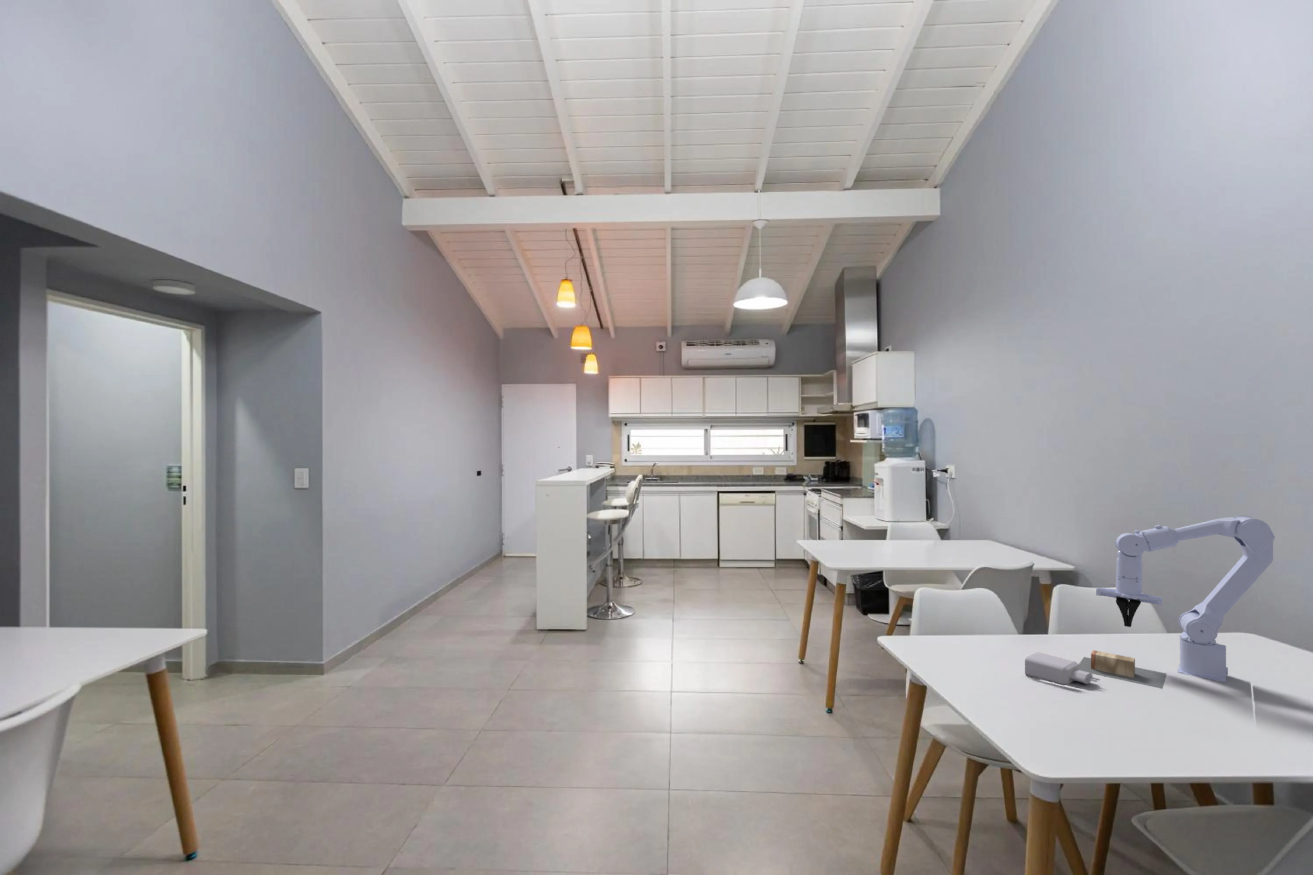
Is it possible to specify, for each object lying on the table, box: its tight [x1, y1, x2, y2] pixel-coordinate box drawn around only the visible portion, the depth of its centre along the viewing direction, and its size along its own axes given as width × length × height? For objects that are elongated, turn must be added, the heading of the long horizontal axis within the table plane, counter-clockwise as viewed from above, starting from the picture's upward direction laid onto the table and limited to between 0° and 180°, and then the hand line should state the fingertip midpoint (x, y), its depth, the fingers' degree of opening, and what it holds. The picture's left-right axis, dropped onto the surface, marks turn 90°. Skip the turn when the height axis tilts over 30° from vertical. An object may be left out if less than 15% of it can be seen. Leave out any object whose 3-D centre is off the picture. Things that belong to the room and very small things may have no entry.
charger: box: [1024, 651, 1101, 686], centre depth 157 cm, size 5×9×15 cm
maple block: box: [1090, 649, 1136, 677], centre depth 163 cm, size 4×4×9 cm
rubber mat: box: [1078, 656, 1167, 689], centre depth 162 cm, size 18×14×1 cm
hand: (1127, 625), depth 170 cm, fingers closed
